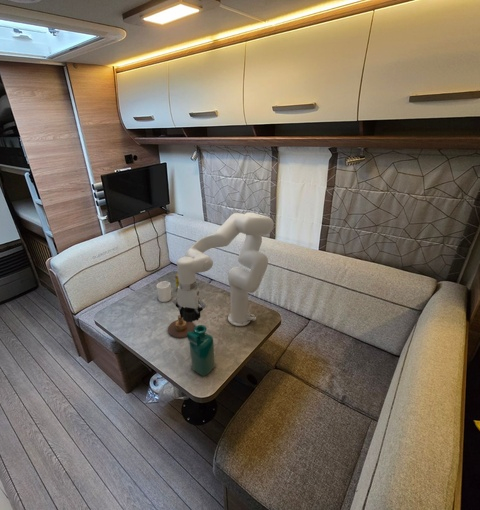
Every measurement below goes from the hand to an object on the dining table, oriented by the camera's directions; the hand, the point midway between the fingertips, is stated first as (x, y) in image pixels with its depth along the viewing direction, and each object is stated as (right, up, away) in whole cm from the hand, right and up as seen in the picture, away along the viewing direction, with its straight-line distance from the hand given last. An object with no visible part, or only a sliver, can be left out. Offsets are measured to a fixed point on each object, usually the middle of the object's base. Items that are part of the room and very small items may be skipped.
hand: (190, 317), depth 130 cm
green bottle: (+6, -22, -5) cm, 23 cm away
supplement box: (-9, +6, +57) cm, 58 cm away
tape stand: (-6, -11, +19) cm, 23 cm away
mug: (-19, +2, +48) cm, 52 cm away
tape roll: (0, 0, 0) cm, 0 cm away
